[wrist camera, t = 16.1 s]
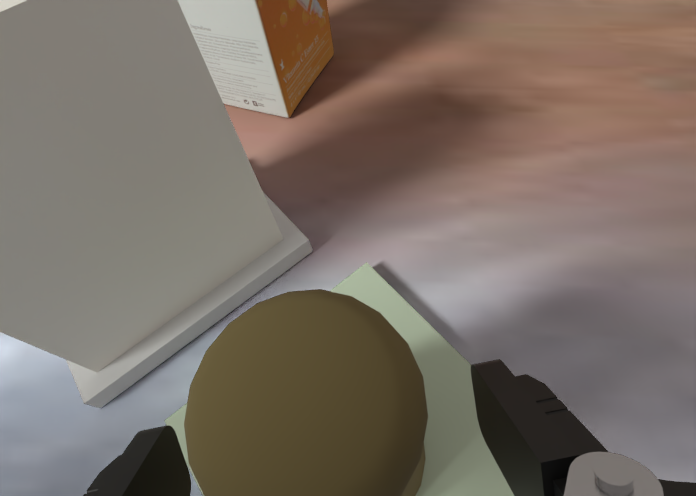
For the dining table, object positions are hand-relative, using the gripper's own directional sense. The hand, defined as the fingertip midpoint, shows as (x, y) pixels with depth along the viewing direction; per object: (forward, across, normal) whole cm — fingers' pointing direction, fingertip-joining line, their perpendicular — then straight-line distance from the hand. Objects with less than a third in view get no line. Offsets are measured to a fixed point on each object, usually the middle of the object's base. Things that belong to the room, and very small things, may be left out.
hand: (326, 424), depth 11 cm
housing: (+14, +8, -2) cm, 16 cm away
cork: (+5, 0, +5) cm, 7 cm away
